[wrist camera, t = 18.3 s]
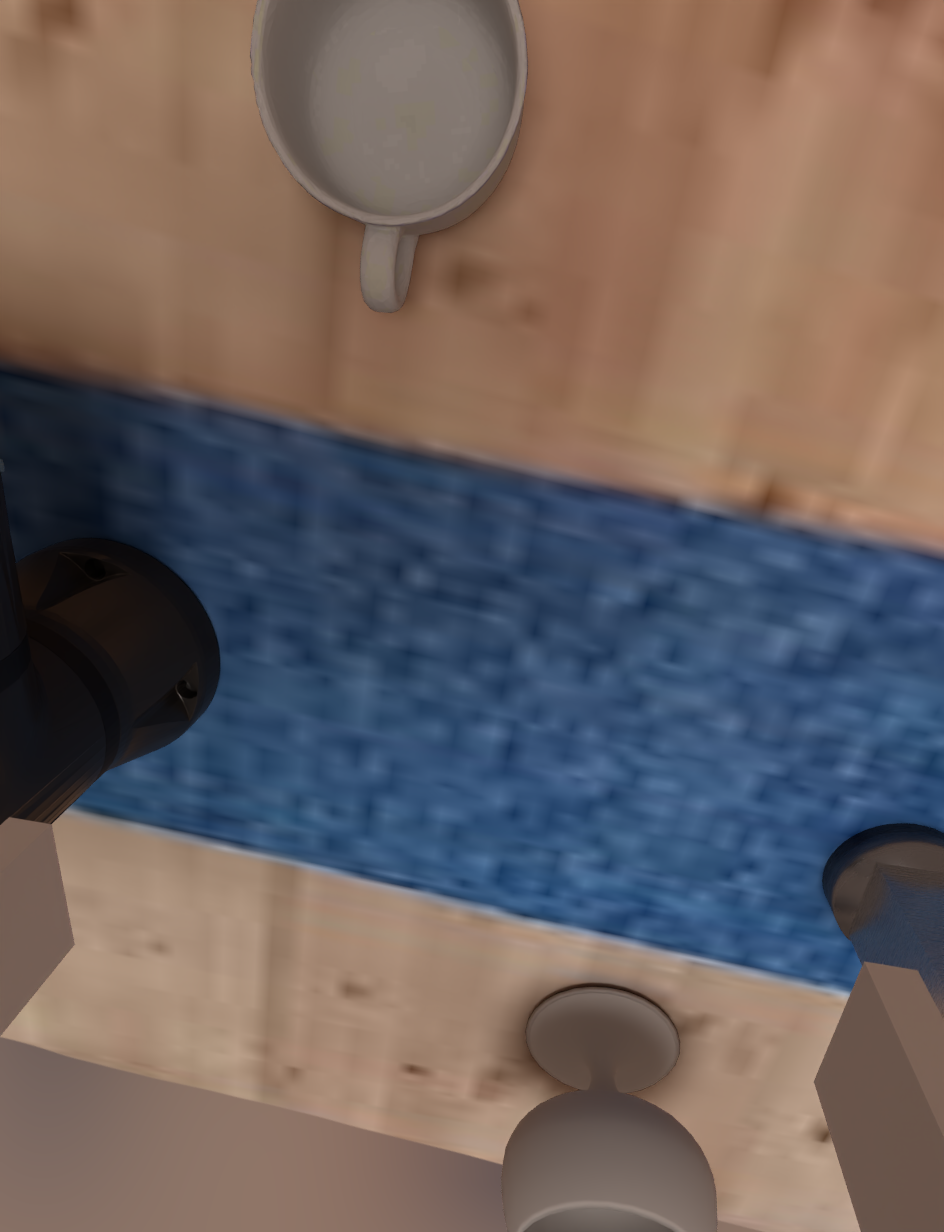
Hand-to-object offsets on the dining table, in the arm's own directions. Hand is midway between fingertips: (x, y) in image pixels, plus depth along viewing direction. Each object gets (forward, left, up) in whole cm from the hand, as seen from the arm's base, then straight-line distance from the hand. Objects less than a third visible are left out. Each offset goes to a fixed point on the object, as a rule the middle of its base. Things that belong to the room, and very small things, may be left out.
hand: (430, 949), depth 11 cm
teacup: (+3, +18, -32) cm, 37 cm away
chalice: (-16, -41, -32) cm, 54 cm away
